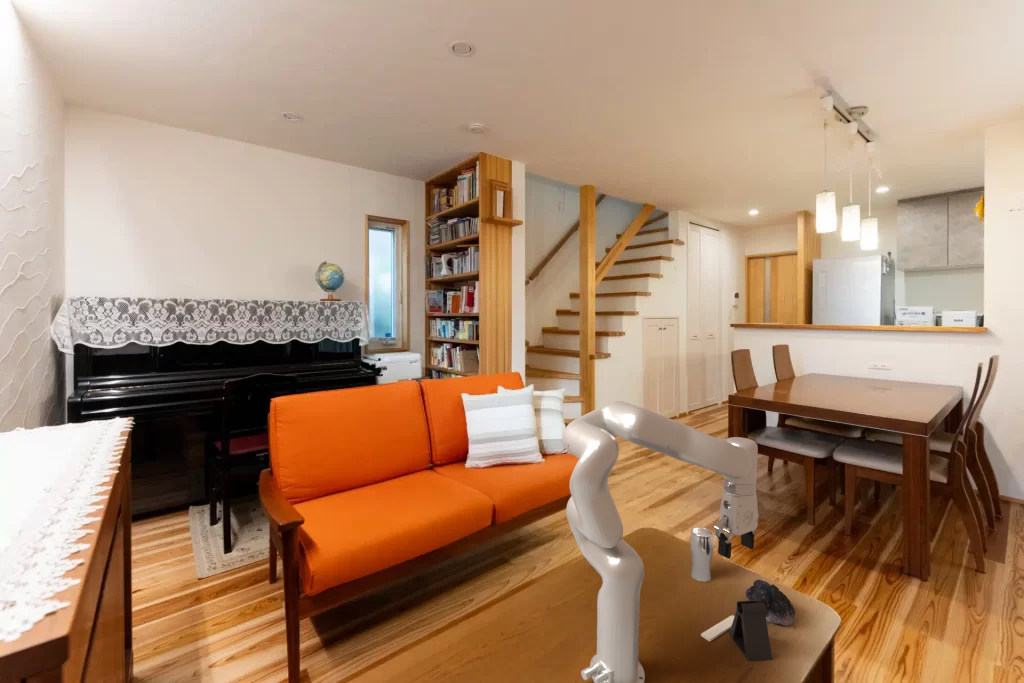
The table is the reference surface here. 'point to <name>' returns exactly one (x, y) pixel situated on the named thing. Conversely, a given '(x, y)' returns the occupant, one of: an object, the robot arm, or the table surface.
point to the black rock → (772, 602)
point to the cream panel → (718, 629)
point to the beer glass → (701, 553)
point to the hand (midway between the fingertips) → (735, 551)
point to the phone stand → (751, 630)
